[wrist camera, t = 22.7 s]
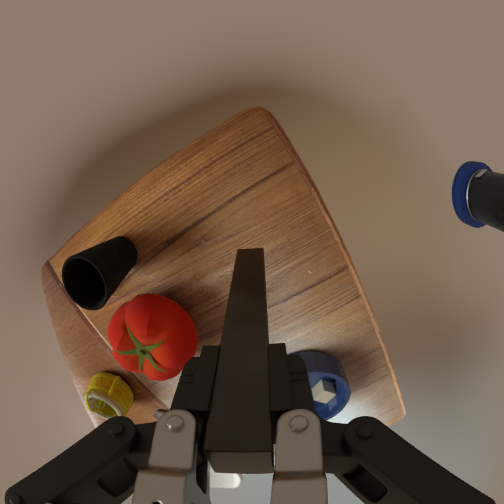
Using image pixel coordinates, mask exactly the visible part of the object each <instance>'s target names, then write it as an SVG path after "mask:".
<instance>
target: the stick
mask: <svg viewBox="0 0 504 504" xmlns="http://www.w3.org/2000/svg"><path fill="white" fill-rule="evenodd" d="M268 344H269V335H268V316H267V298H266V281H265V264H264V249H263V248H255V249H238V250H237V255H236V260H235V265H234V271H233V276H232V281H231V287H230V292H229V297H228V303H227V308H226V314H225V319H224V325H223V330H222V336H221V341H220V351H219V357H218V363H217V369H216V375H215V381H214V387H213V393H212V399H211V405H210V411H209V415H208V418H207V424H206V430H205V436H204V442H203V451H204V453H205V455H206V457H207V459H208V461H209V463H210V465H211V467H212V469H213V471H214V472H216V473H234V474H263V473H273V472H274V449H273V422H272V415H270V387H269V361H268Z"/></svg>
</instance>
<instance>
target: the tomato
mask: <svg viewBox="0 0 504 504" xmlns="http://www.w3.org/2000/svg"><path fill="white" fill-rule="evenodd" d="M108 338H109V340H110V343H111V345H112V346H113V356H114V357H115V359H116V360H117V361H118V363H119V364H120V365H121V367H123V368H125V369H126V370H128V371H130V372H137V373H144V374H145V375H146V376H147V377H148V378H149V379H151V380H157V381H164V380H167V379H170V378H173V377H175V376H176V375H178V374H179V373H180V372H181V371H182V369H183V367H184V365H185V363H186V362H187V361H188V360H189V359H190V358H191V357H194V355H195V353H196V350H197V346H198V333H197V329H196V325H195V323H194V322H193V320H192V319H191V317H190V315H189V314H188V313H187V312H186V311H185V310H184V309H183V308H182V307H181V306H180V305H179V304H178V303H176V302H175V301H173V300H171V299H169V298H167V297H165V296H163V295H157V294H148V293H147V294H142V295H137V296H136V297H135V298H133V299H132V300H131V301H129V302H126V303H124V304H123V305H122V306H120V308H119V309H118V310H117V311H116V312H115V313H114V314H113V316H112V318H111V321H110V324H109V327H108Z"/></svg>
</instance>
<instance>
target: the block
mask: <svg viewBox="0 0 504 504" xmlns="http://www.w3.org/2000/svg"><path fill="white" fill-rule="evenodd" d="M312 394H313V399H314V400H315V401H319V402H322V403H325V404H326V403H327V402H329V401H330V400H331V399H332V398H333V397H334V396H335V395H336V391H335V388H334V384H333V383H331V382H328V381H325V380H323V379H321V380H320V381H319V382H318V383H317V384H316V385H315V386H314V387H313V388H312Z"/></svg>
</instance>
